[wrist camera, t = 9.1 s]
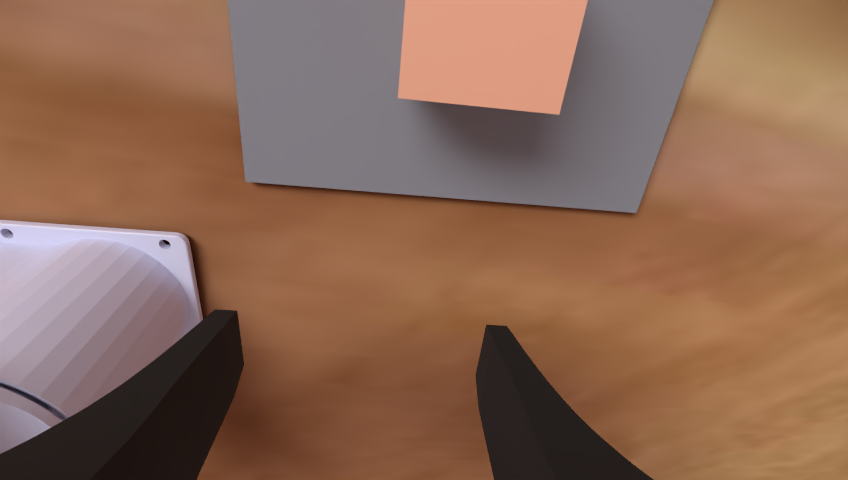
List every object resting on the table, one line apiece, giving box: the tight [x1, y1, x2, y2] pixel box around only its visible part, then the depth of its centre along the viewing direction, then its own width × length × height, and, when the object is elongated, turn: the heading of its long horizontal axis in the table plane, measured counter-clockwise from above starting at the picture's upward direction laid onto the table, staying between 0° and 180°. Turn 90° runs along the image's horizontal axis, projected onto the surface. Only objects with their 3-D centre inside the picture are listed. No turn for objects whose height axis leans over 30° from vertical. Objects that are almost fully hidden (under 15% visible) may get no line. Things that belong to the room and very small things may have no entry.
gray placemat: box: [228, 0, 714, 213], centre depth 17 cm, size 18×16×1 cm
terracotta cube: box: [398, 0, 588, 115], centre depth 15 cm, size 5×5×5 cm
